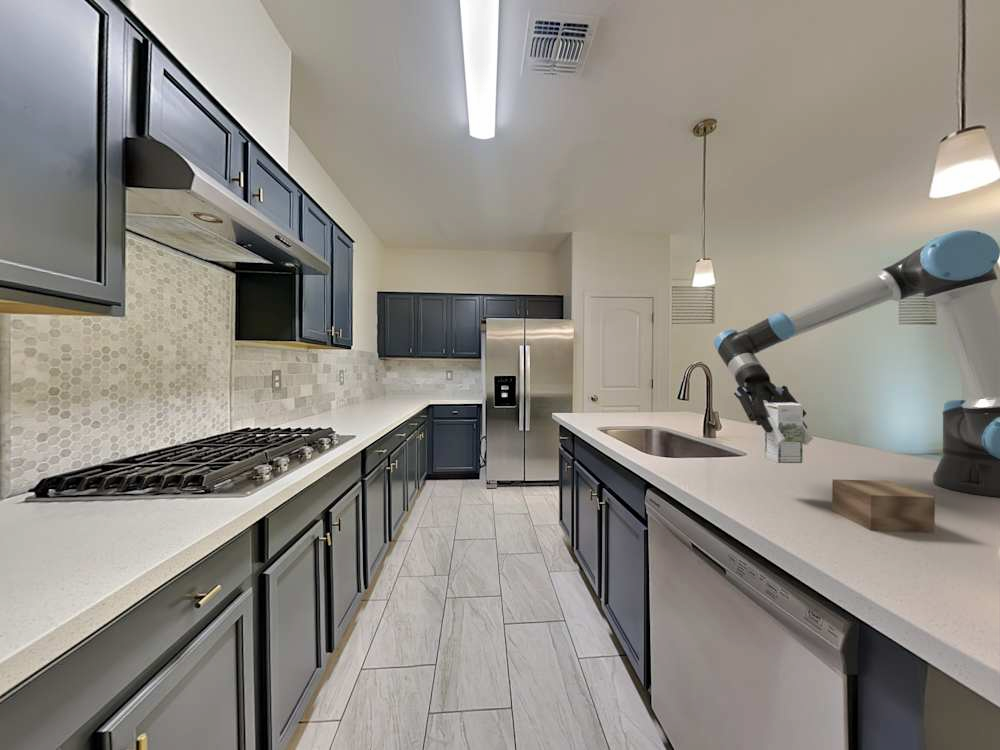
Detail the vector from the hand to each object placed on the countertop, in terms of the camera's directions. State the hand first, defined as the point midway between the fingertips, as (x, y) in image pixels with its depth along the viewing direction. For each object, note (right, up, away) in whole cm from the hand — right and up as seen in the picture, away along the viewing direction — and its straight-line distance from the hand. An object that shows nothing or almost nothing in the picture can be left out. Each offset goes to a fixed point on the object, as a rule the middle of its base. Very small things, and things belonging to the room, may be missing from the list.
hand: (794, 441), depth 95 cm
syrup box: (0, -6, +4) cm, 7 cm away
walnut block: (+9, -14, -12) cm, 21 cm away
